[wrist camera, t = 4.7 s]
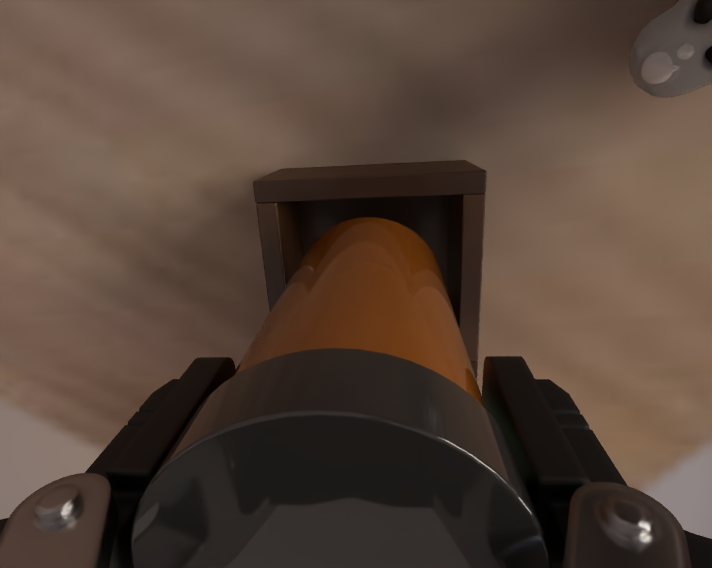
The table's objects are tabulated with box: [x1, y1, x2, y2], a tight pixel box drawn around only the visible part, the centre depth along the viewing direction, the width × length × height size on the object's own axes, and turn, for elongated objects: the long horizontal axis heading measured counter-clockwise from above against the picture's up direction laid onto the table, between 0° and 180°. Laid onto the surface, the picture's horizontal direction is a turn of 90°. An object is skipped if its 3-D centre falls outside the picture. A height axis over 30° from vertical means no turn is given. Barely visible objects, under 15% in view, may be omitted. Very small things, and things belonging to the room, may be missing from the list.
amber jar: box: [130, 217, 552, 568], centre depth 11 cm, size 6×6×11 cm
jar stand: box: [253, 160, 487, 381], centre depth 21 cm, size 16×8×5 cm, turn 3°
